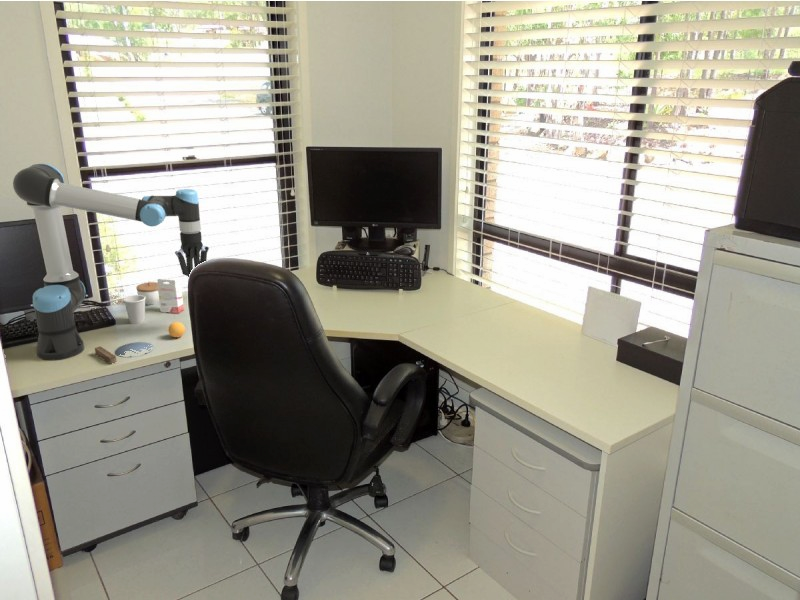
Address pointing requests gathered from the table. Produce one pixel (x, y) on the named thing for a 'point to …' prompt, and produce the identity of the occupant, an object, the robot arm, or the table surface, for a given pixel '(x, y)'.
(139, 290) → the lidded jar
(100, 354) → the strip
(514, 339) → the table surface
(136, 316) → the dixie cup
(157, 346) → the table surface
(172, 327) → the ball
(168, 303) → the ink cartridge box
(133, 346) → the slate mark
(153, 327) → the table surface
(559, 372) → the table surface
